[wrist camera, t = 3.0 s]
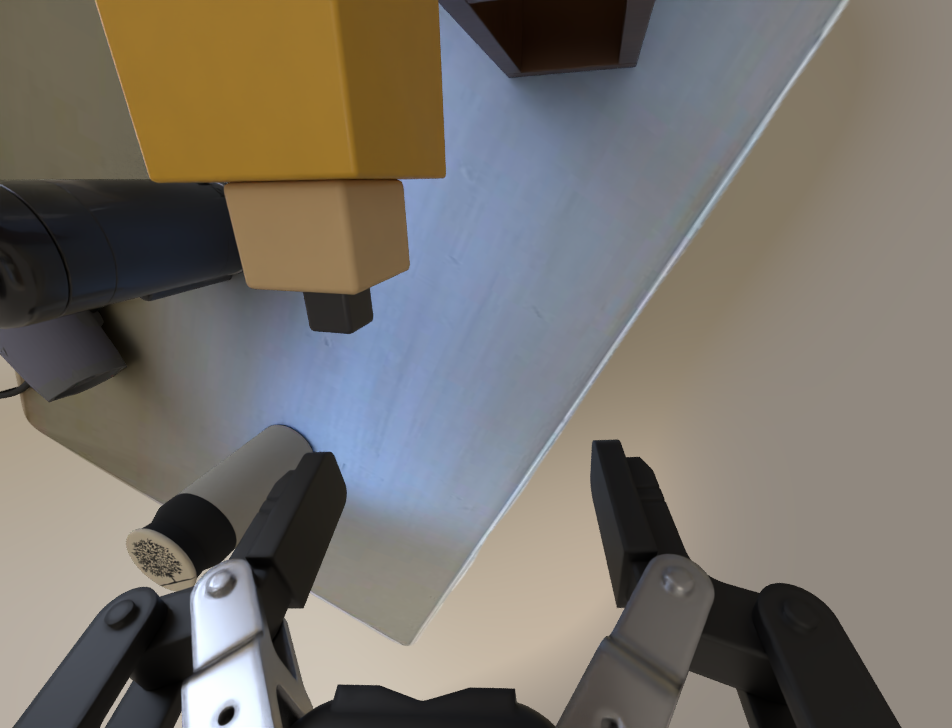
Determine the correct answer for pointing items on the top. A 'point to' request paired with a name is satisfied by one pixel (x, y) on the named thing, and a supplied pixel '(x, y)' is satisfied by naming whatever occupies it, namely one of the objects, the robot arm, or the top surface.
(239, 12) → the pencil
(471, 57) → the top surface
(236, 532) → the travel mug
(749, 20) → the top surface
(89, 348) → the bluetooth speaker
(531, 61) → the shelf
